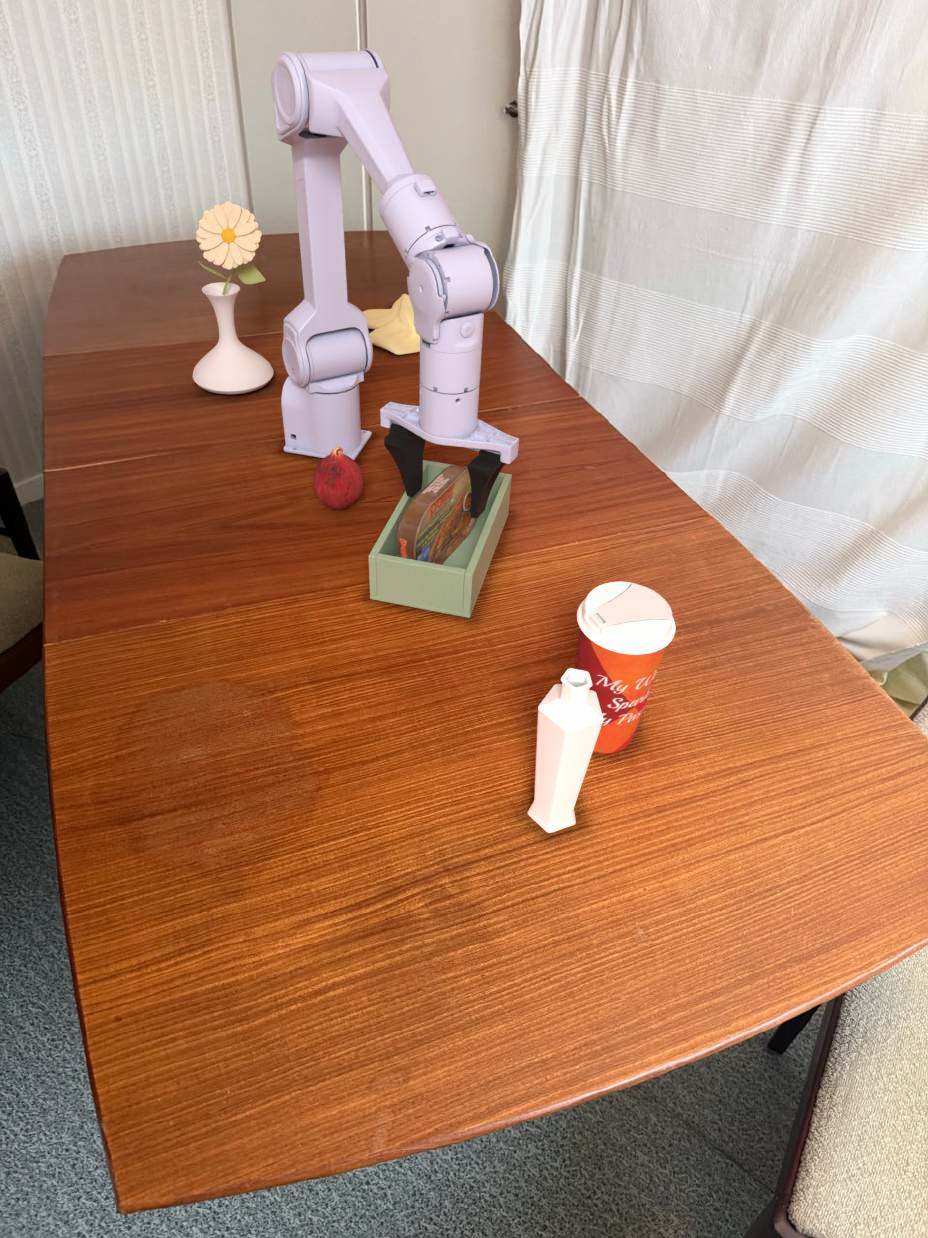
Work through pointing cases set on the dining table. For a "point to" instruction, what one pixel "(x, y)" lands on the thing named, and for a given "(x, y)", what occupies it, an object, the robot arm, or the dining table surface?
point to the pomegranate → (338, 480)
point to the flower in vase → (230, 301)
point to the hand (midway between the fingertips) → (445, 502)
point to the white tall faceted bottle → (564, 748)
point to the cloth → (394, 327)
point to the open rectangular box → (435, 583)
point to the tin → (437, 518)
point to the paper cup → (622, 654)
